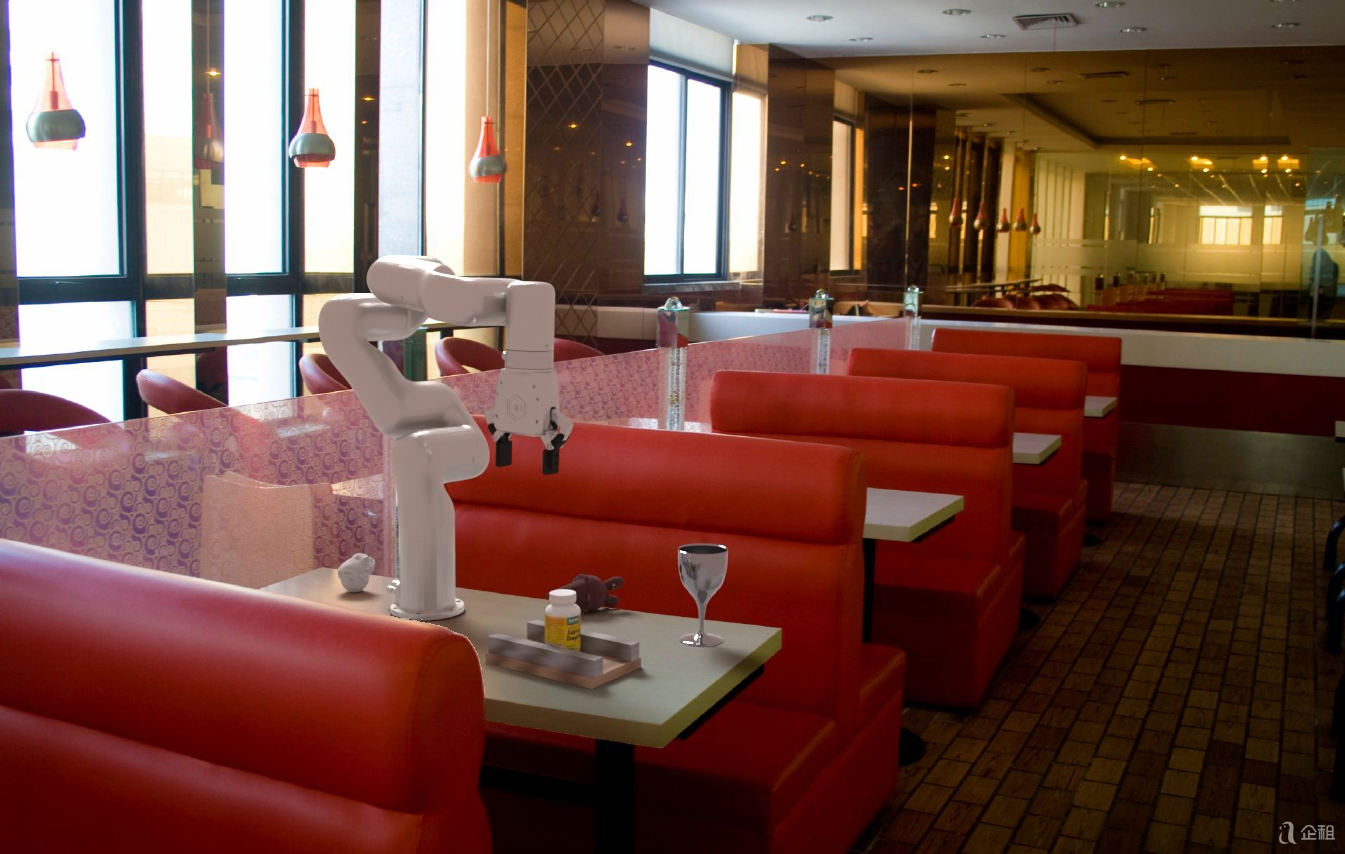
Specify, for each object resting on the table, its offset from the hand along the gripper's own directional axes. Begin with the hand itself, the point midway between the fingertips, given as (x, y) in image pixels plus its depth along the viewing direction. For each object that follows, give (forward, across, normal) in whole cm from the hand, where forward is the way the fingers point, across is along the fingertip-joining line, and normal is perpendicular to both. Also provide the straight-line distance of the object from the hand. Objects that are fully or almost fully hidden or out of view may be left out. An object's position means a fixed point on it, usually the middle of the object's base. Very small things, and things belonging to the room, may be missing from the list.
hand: (526, 469), depth 188 cm
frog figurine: (+29, -44, +4) cm, 52 cm away
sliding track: (+27, +14, -7) cm, 31 cm away
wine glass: (+27, +23, +17) cm, 39 cm away
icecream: (+28, -2, +18) cm, 33 cm away
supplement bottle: (+26, +13, -6) cm, 30 cm away
